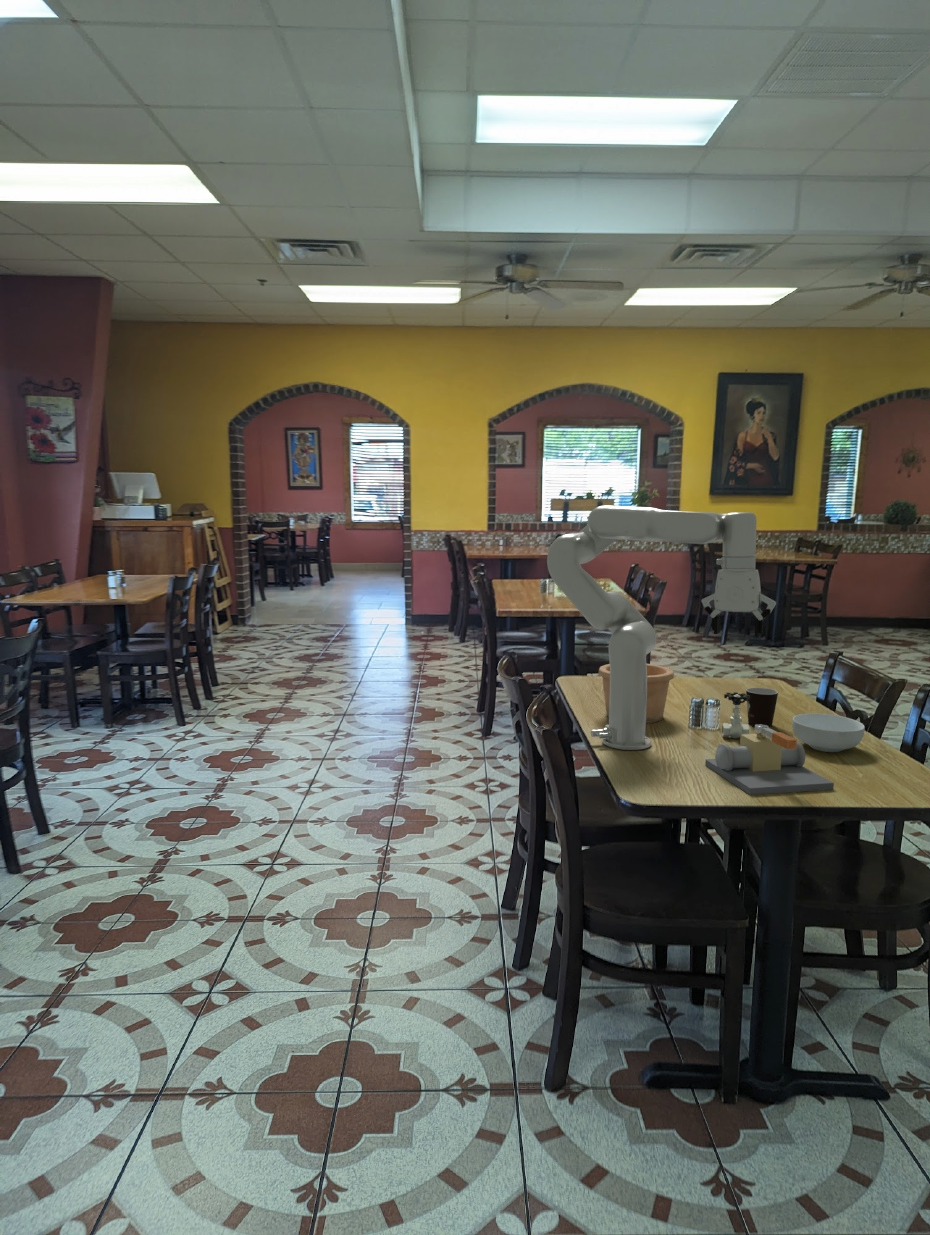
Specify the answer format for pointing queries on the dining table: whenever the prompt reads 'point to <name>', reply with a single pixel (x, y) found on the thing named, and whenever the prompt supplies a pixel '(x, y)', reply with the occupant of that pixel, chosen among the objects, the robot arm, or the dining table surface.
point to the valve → (735, 717)
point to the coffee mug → (761, 706)
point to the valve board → (773, 779)
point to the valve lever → (776, 736)
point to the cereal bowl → (827, 731)
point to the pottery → (655, 689)
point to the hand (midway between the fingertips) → (737, 634)
